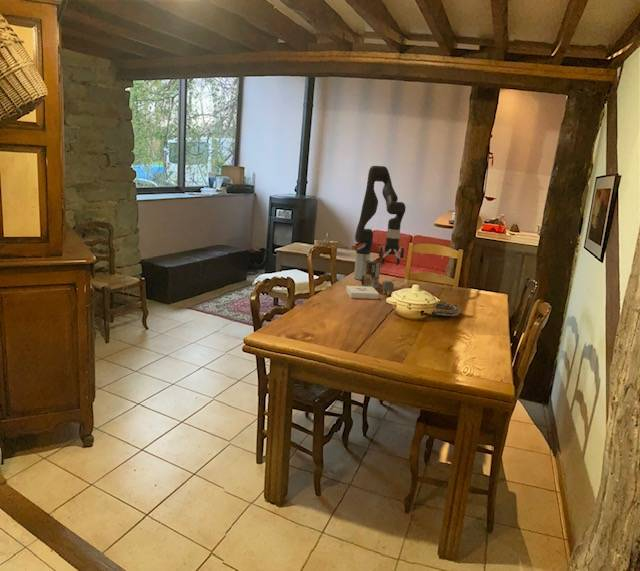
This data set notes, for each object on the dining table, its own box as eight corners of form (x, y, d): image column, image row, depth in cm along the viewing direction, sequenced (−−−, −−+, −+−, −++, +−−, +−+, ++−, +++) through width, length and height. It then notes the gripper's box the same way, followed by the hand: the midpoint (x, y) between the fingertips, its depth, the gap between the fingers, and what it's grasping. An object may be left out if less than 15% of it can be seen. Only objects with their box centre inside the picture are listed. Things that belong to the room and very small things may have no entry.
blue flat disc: (437, 303, 274) (438, 295, 273) (477, 318, 253) (479, 309, 252) (402, 309, 257) (404, 300, 256) (442, 325, 236) (444, 315, 235)
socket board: (345, 290, 287) (346, 285, 286) (372, 291, 289) (372, 286, 288) (350, 297, 271) (351, 292, 270) (378, 298, 273) (378, 293, 273)
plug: (381, 292, 287) (383, 279, 285) (390, 293, 288) (391, 280, 286) (383, 295, 282) (385, 282, 280) (392, 295, 283) (394, 282, 281)
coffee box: (378, 287, 300) (381, 262, 296) (373, 289, 294) (376, 263, 291) (365, 284, 304) (367, 259, 301) (360, 286, 299) (363, 261, 295)
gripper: (403, 236, 281) (400, 263, 285) (379, 235, 279) (376, 262, 283) (406, 238, 274) (403, 266, 278) (382, 237, 272) (379, 265, 276)
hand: (390, 264), depth 281 cm, fingers open, 8 cm apart
